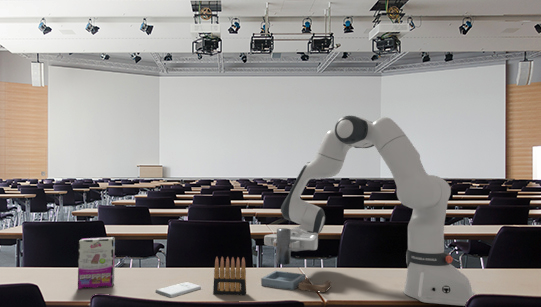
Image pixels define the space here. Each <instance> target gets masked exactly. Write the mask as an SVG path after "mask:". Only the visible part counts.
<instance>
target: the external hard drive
mask: <svg viewBox="0 0 541 307" xmlns="http://www.w3.org/2000/svg"><path fill="white" fill-rule="evenodd" d="M201 289H202V286H201V285H198V284H195V283H192V282H188V281H185V282H181V283H177V284H173V285H169V286H166V287H162V288H157V289H156V290H155V293H156V294H160V295H162V296H164V297H167V298H174V297H178V296H181V295H185V294H189V293H191V292H194V291H195V292H196V291H197V290H201Z"/></svg>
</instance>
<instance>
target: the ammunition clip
mask: <svg viewBox="0 0 541 307" xmlns="http://www.w3.org/2000/svg"><path fill="white" fill-rule="evenodd" d="M224 260H226V261H224ZM246 273H247V271H246V259H245V257H244V256H243V257H242V259H241V261H240V257H238V256H237V258H236V263H235V258H234V256H232V257H231V261H230V258H229V256H227V257H226V259H224V257H223V256H221V258H220V264H219V258H218V256H216V257H215V261H214V270H213V275H214V276H213V286H212V287H213V288H212V289H213V290H212V295H215V296H217V295H219V296H220V295H221V296H246V295H247V274H246Z"/></svg>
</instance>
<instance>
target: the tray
mask: <svg viewBox="0 0 541 307" xmlns="http://www.w3.org/2000/svg"><path fill="white" fill-rule="evenodd" d="M305 279H306V274H305V273H296V272H289V271H281V270H274V271H272V272H271V273H268V274H266V275H265V276H263V277H261V279H260V281H261V282H260V283H261V286H262V287H270V288H274V289H275V288H276V289H283V290H289V291H293V290H296V289H297V288H299V283H300V282H302V281H303V280H305ZM296 287H297V288H296Z"/></svg>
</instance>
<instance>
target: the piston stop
mask: <svg viewBox="0 0 541 307" xmlns="http://www.w3.org/2000/svg"><path fill="white" fill-rule="evenodd" d="M291 229H292V228H285V227H284V228H281V227H280V228H276V234H277V247H276V257H275V258H276V261H275V262H276V264H278V265H281V266H282V265H285V266H286V265H290V264H291V250H290V248H289V243H290V239H291Z"/></svg>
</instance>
